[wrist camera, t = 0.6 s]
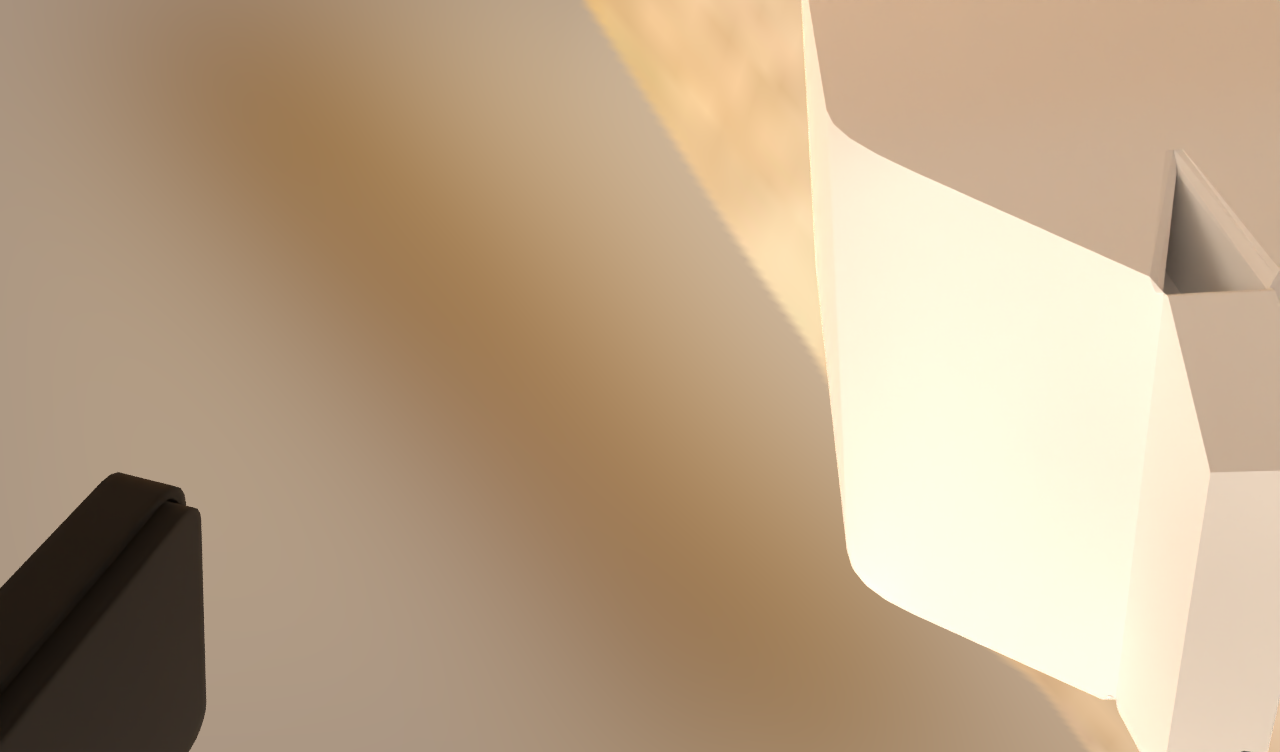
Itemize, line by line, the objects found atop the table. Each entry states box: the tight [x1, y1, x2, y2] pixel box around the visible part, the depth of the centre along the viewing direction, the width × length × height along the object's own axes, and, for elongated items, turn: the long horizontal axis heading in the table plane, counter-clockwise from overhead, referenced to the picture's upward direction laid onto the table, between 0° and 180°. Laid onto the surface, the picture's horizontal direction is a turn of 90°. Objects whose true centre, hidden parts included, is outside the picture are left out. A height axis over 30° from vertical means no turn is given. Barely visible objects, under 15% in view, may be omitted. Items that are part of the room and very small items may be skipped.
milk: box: [801, 0, 1280, 752], centre depth 26 cm, size 12×12×26 cm
